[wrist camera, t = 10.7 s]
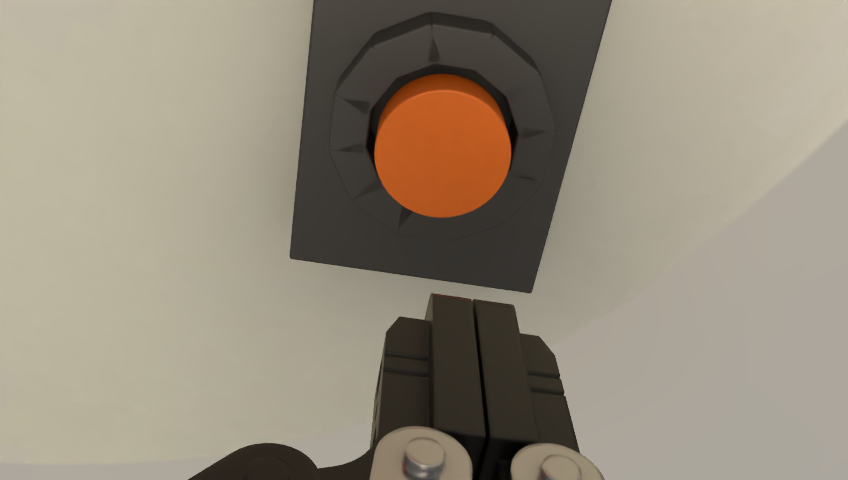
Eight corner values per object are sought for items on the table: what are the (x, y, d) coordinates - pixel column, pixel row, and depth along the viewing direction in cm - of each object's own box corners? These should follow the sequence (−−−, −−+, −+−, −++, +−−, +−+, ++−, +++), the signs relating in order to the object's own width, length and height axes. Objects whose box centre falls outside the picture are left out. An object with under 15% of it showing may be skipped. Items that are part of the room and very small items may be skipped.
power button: (491, 203, 24) (495, 227, 23) (369, 184, 24) (365, 207, 22) (518, 84, 22) (525, 101, 21) (387, 62, 22) (384, 78, 20)
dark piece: (524, 264, 29) (538, 321, 26) (298, 231, 29) (280, 285, 25) (608, -54, 24) (641, -38, 20) (331, -105, 23) (314, -97, 20)
